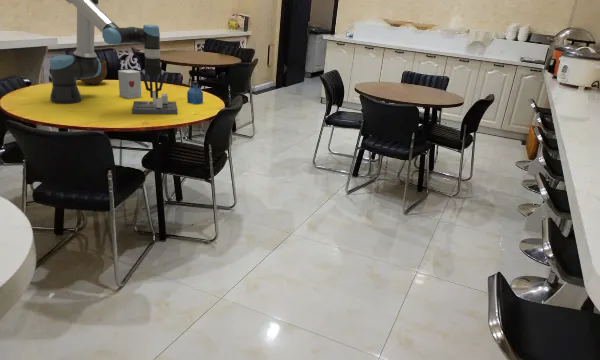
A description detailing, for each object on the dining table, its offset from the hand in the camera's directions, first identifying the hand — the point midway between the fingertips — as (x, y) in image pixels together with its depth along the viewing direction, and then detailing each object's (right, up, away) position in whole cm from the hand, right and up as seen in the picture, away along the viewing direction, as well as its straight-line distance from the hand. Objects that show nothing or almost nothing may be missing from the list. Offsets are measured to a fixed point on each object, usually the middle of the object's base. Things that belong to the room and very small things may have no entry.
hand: (154, 104), depth 237 cm
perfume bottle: (+15, +5, +28) cm, 32 cm away
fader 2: (+2, +2, +11) cm, 11 cm away
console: (-2, -2, +6) cm, 7 cm away
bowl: (-58, +22, +56) cm, 84 cm away
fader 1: (+2, -2, +1) cm, 3 cm away
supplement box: (-24, +9, +31) cm, 40 cm away
